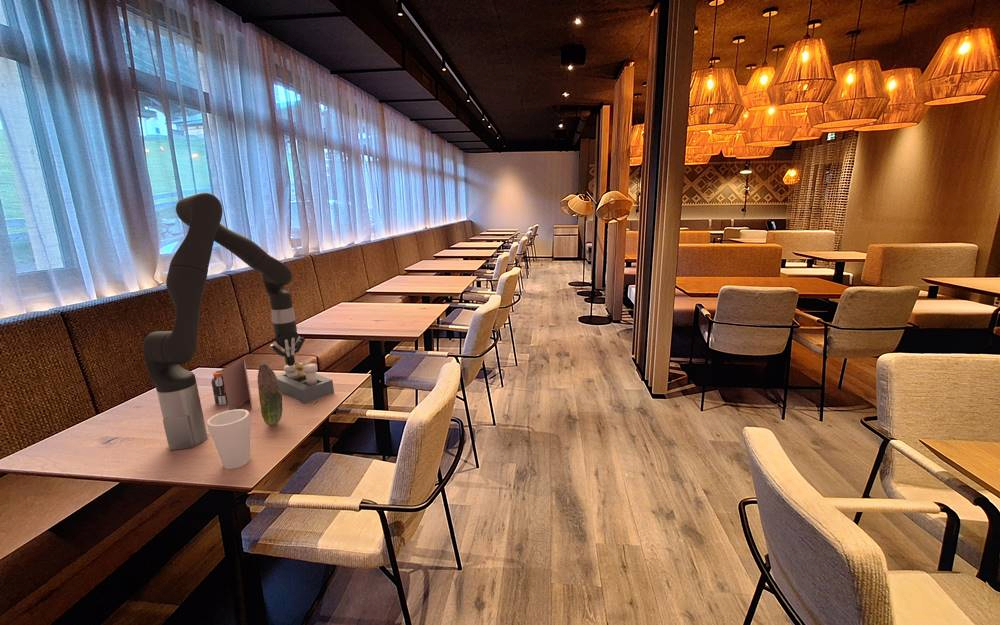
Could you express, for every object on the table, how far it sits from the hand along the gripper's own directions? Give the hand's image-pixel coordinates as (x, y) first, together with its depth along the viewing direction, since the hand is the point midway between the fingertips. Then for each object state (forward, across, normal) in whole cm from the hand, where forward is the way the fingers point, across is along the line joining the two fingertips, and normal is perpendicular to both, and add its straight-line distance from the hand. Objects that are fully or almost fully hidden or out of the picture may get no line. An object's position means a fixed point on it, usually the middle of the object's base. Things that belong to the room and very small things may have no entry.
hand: (290, 365), depth 166 cm
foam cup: (+9, -35, -37) cm, 52 cm away
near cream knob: (+5, 0, -14) cm, 15 cm away
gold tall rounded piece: (+5, 0, -7) cm, 8 cm away
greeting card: (+9, -17, -2) cm, 19 cm away
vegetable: (+9, -19, -24) cm, 32 cm away
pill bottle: (+9, -21, +8) cm, 24 cm away
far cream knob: (+7, 0, 0) cm, 7 cm away
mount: (+9, 0, -7) cm, 11 cm away
